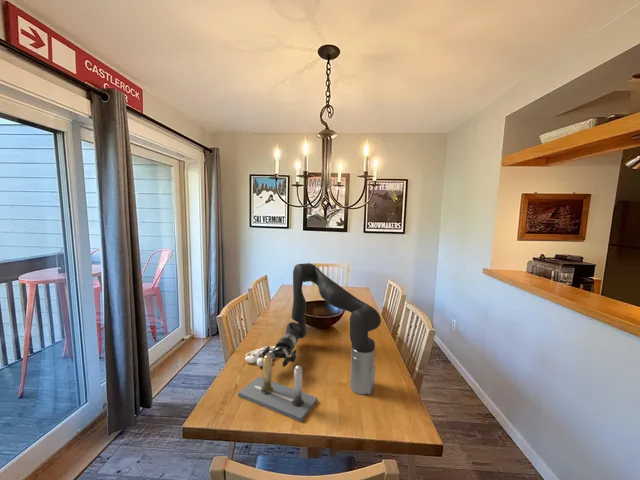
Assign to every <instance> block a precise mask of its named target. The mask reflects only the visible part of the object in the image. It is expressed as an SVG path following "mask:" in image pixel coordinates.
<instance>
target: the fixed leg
mask: <svg viewBox="0 0 640 480" xmlns="http://www.w3.org/2000/svg"><path fill="white" fill-rule="evenodd" d="M293 389H294V404H295V405H301V404H302V392H303V368H302V366H301V365H296V366H295V368H293Z"/></svg>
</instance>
